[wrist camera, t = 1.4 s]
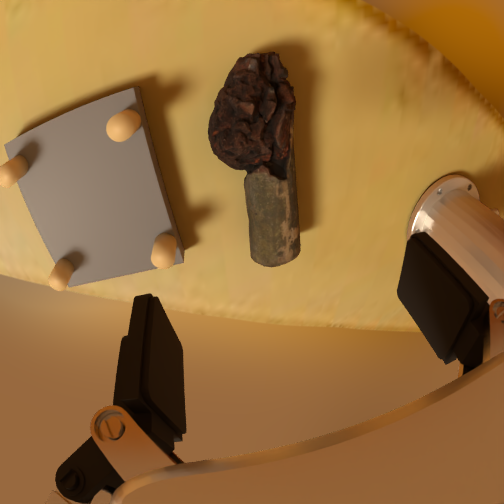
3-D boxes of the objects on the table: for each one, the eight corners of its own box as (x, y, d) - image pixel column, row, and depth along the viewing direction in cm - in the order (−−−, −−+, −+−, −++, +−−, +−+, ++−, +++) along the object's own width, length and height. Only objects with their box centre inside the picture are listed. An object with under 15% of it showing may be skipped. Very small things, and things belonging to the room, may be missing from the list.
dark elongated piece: (294, 235, 30) (311, 269, 26) (228, 246, 30) (234, 283, 25) (282, 52, 20) (303, 48, 15) (198, 61, 19) (195, 58, 15)
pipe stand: (138, 86, 19) (125, 89, 16) (184, 250, 29) (182, 280, 25) (15, 138, 19) (-12, 153, 15) (74, 275, 28) (61, 303, 24)
